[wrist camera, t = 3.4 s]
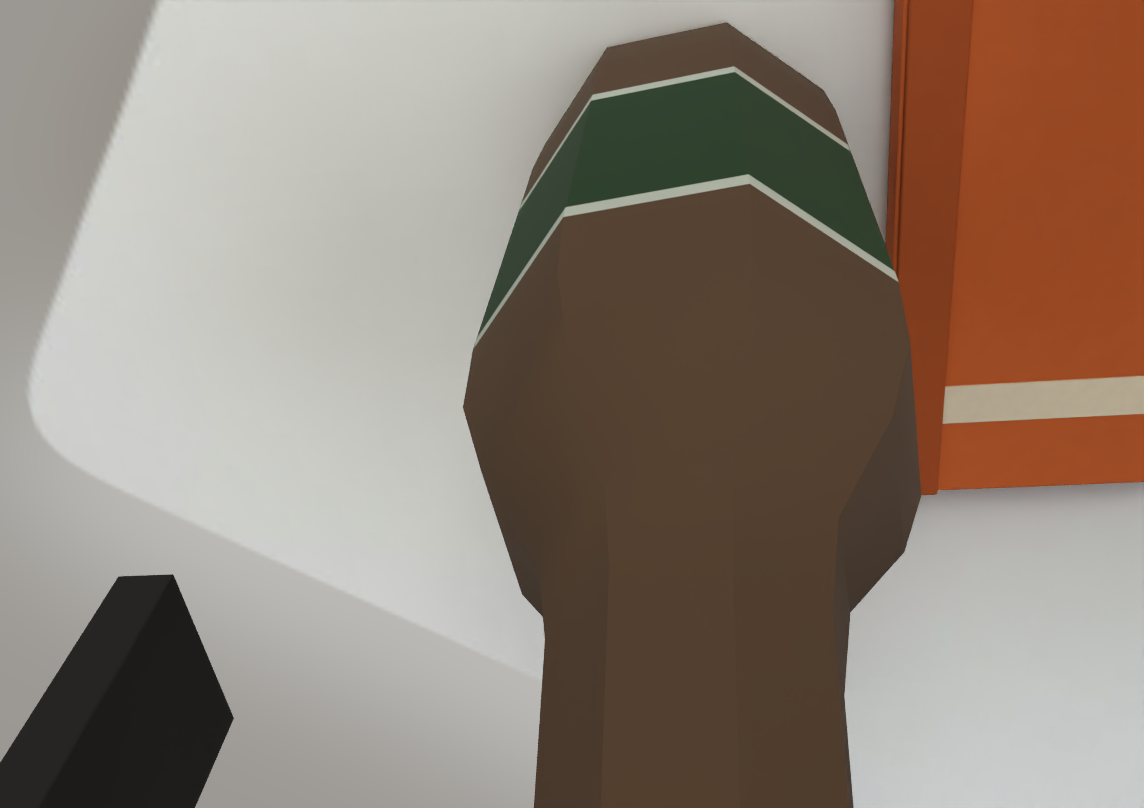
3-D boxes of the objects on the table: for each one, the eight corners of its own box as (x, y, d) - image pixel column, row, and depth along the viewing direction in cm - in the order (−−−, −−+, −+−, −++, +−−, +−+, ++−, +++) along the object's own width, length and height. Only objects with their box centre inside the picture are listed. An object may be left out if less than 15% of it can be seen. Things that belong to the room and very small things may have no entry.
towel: (1159, 456, 32) (1177, 485, 30) (877, 469, 33) (884, 497, 32) (1331, -383, 21) (1369, -388, 20) (905, -323, 22) (918, -324, 21)
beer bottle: (481, 125, 28) (-38, 1194, 8) (744, -57, 25) (980, 901, 5) (646, 346, 31) (574, 1516, 11) (897, 207, 28) (1421, 1451, 8)
